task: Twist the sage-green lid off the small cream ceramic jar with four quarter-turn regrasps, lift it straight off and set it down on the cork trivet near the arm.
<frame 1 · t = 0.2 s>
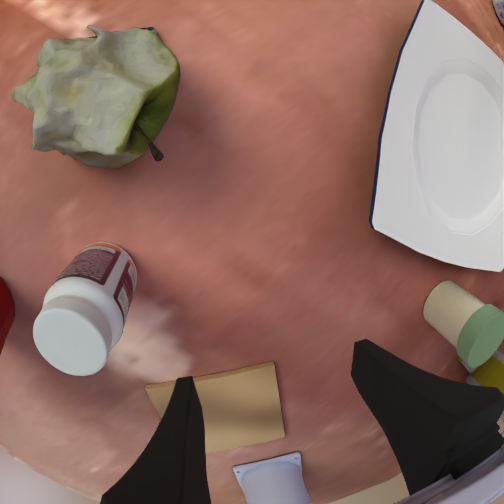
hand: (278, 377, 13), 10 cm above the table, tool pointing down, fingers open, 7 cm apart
jar lid: (487, 339, 20), point 7 cm above the table, screwed on, not yet turned
jar: (440, 302, 27), on the table
alarm clock: (475, 355, 33), on the table
plate: (462, 146, 22), on the table
beverage can: (502, 13, 17), on the table
pill bottle: (106, 272, 20), on the table
trivet: (221, 414, 27), on the table
fruit: (110, 102, 17), on the table
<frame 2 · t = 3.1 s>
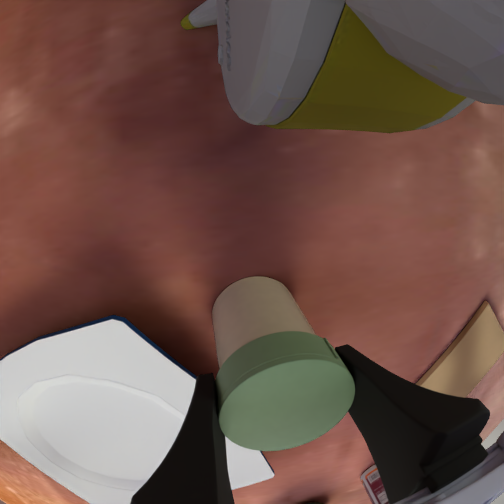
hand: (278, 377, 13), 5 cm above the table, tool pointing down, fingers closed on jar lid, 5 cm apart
jar lid: (288, 407, 11), point 7 cm above the table, screwed on, not yet turned, touching gripper
jar: (254, 314, 18), on the table
alarm clock: (250, 24, 12), on the table
plate: (112, 431, 20), on the table
pill bottle: (376, 468, 29), on the table
trivet: (464, 365, 25), on the table
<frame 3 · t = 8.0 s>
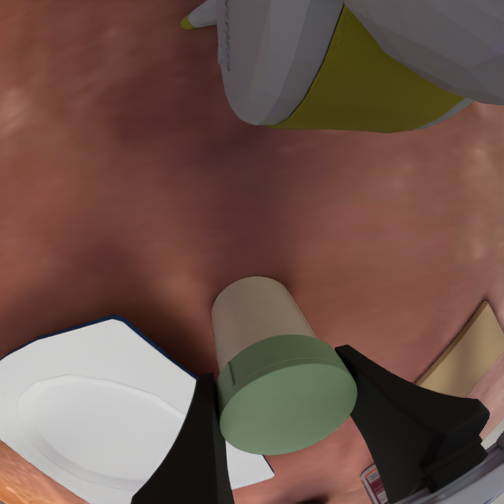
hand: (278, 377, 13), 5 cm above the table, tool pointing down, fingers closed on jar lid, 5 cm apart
jar lid: (289, 411, 11), point 7 cm above the table, turned 85° so far, risen 0.2 cm, still on its thread, touching gripper
jar: (253, 314, 18), on the table
alarm clock: (250, 24, 13), on the table
plate: (112, 431, 20), on the table
pill bottle: (376, 468, 29), on the table
trivet: (463, 365, 25), on the table
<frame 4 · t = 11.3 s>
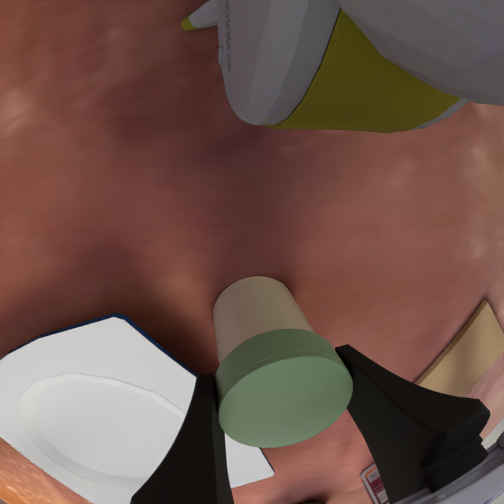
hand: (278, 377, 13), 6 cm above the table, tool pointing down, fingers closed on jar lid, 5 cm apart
jar lid: (286, 404, 11), point 7 cm above the table, off its thread, touching gripper
jar: (254, 313, 18), on the table
alarm clock: (250, 25, 13), on the table
plate: (113, 429, 20), on the table
pill bottle: (376, 467, 30), on the table
trivet: (463, 364, 25), on the table
when the fingers open (1 cm above the table, at t = 22.1 s): jar lid stays where it is, resting on trivet.
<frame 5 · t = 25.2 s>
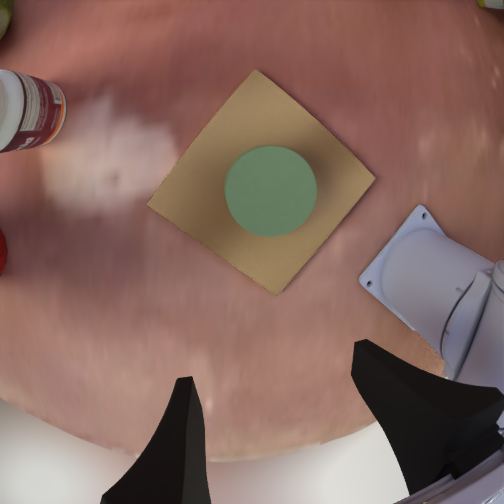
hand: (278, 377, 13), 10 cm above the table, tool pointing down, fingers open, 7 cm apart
jar lid: (271, 191, 18), point 2 cm above the table, off its thread, touching trivet
alarm clock: (500, 6, 16), on the table
pill bottle: (41, 114, 17), on the table
trivet: (266, 186, 20), on the table
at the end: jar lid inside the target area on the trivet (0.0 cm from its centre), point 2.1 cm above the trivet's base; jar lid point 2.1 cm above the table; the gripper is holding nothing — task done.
